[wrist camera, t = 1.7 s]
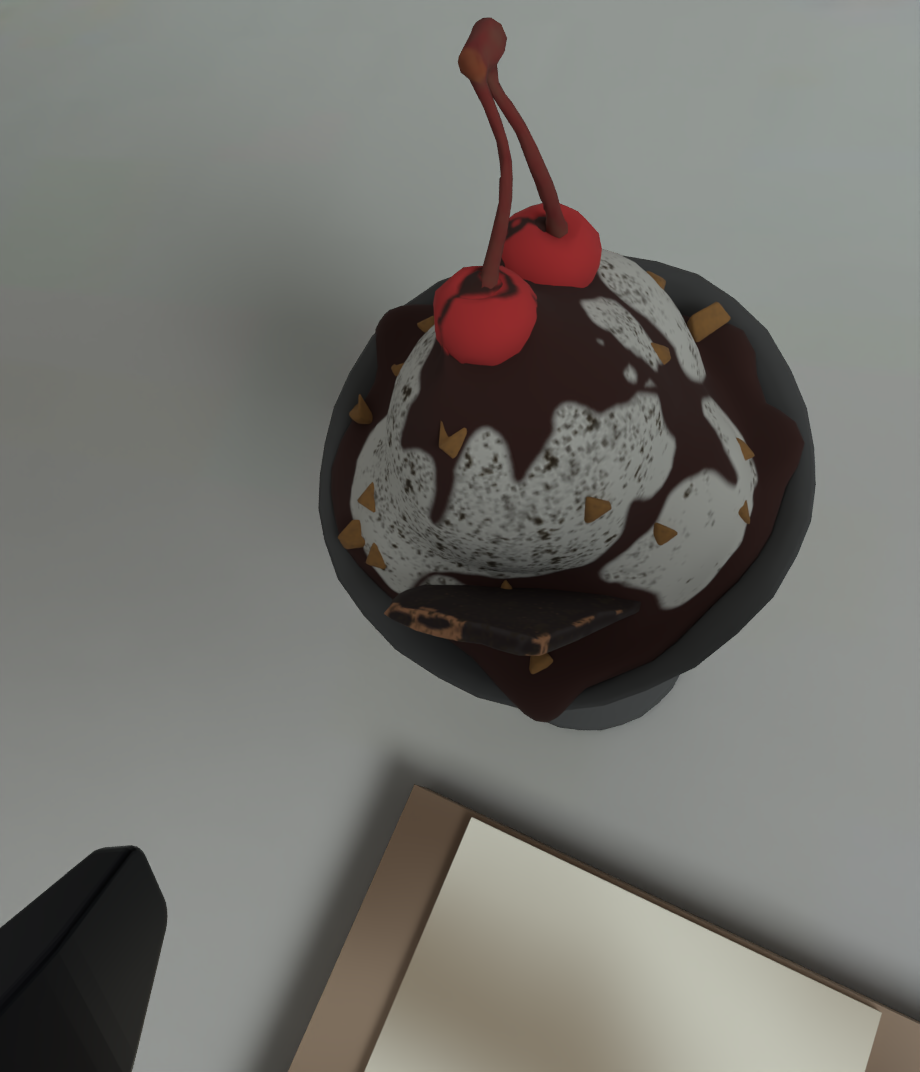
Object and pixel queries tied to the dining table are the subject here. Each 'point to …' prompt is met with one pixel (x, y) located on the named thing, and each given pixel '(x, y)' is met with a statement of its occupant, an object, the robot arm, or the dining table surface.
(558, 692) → the sundae
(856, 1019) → the board
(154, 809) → the dining table surface
